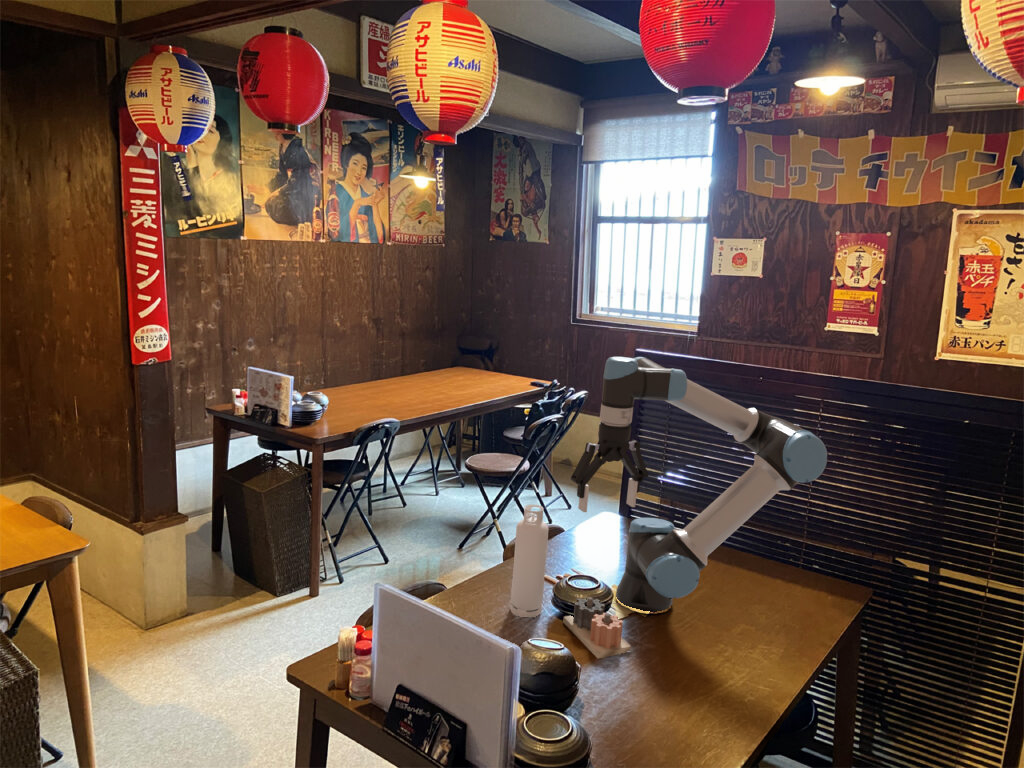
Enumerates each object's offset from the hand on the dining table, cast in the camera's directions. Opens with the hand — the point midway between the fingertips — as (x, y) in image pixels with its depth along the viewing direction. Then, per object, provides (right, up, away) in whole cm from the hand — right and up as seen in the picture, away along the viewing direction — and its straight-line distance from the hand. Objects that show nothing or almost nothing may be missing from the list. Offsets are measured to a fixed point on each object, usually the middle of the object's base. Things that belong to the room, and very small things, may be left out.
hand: (606, 507), depth 178 cm
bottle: (-19, -29, +12) cm, 37 cm away
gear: (-1, -31, -2) cm, 31 cm away
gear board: (-2, -32, +2) cm, 32 cm away
